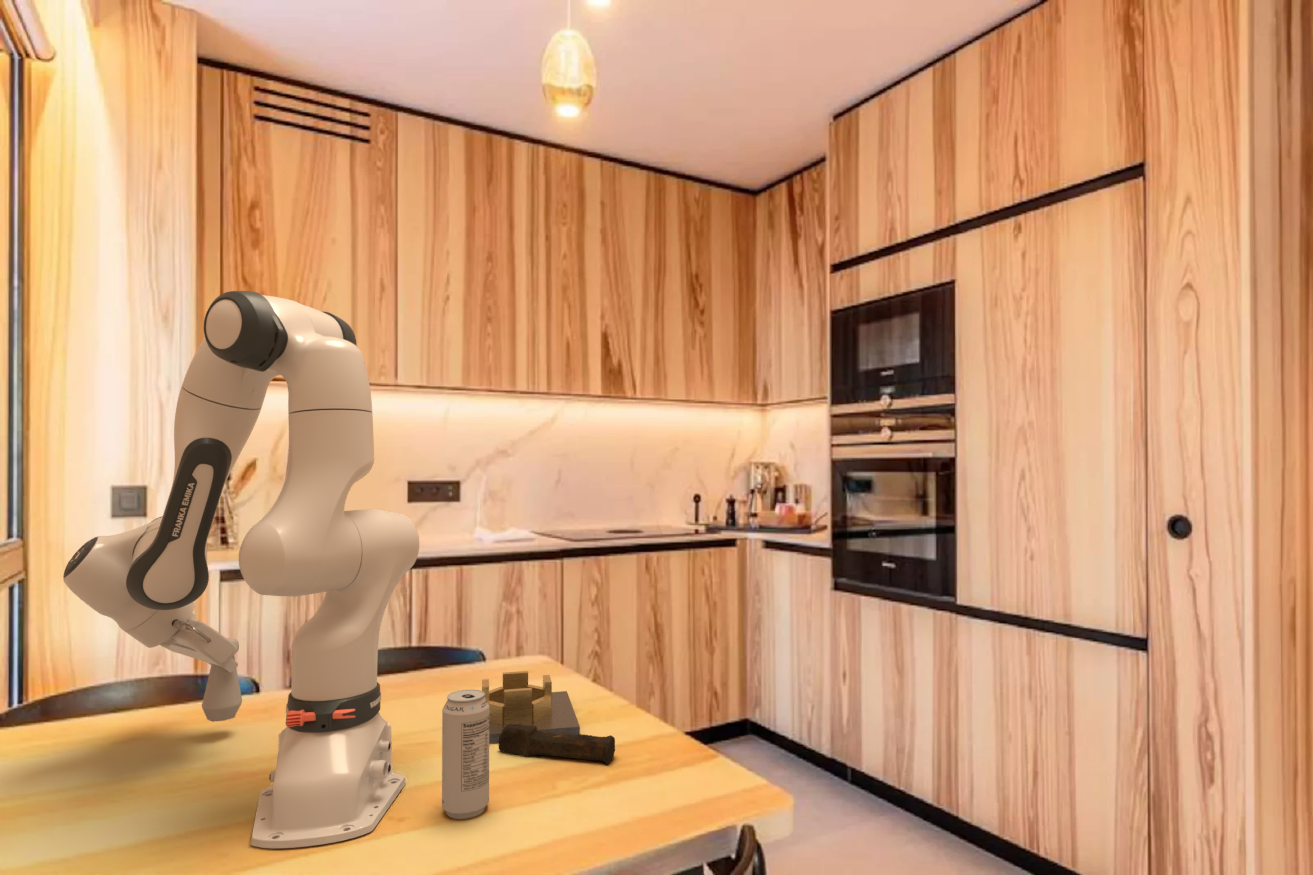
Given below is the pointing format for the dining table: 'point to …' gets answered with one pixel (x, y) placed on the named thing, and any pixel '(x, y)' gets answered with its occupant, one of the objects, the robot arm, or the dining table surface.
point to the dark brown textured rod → (555, 744)
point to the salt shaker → (222, 693)
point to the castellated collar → (528, 706)
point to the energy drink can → (465, 754)
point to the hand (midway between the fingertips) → (227, 666)
